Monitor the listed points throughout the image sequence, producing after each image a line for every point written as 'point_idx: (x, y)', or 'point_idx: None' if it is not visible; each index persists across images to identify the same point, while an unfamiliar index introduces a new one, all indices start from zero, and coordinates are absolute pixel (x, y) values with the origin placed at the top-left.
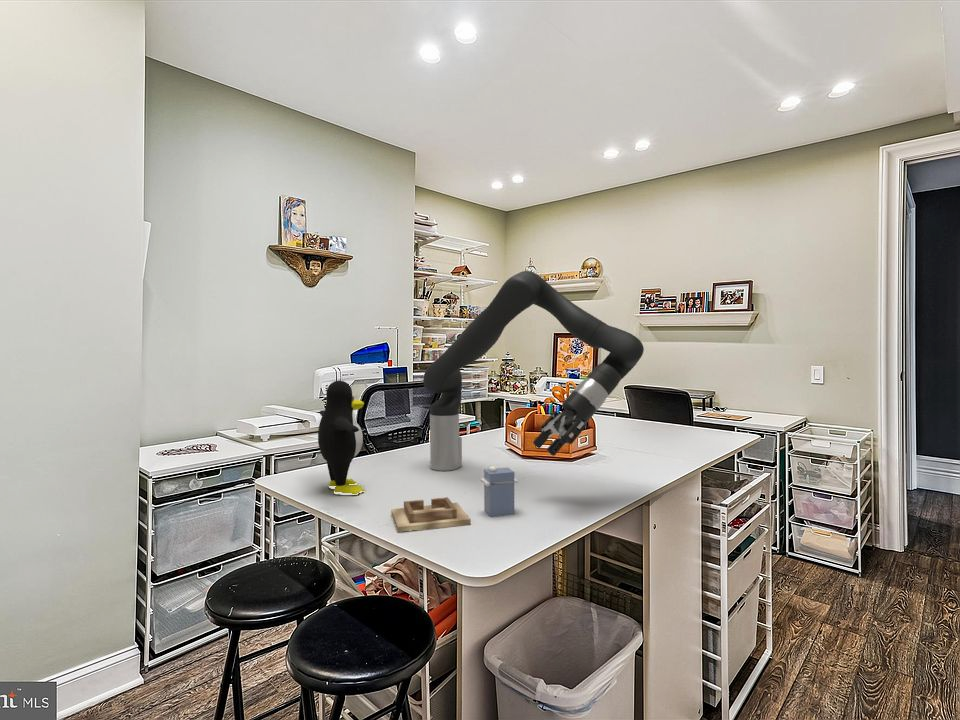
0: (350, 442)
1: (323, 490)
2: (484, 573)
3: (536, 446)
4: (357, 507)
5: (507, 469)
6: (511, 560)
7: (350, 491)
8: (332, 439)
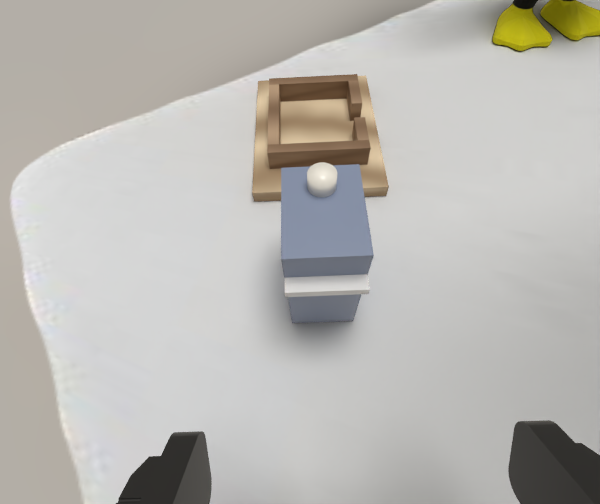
0: None
1: None
2: (19, 180)
3: (516, 453)
4: (417, 46)
5: (336, 244)
6: (31, 233)
7: (500, 26)
8: None
